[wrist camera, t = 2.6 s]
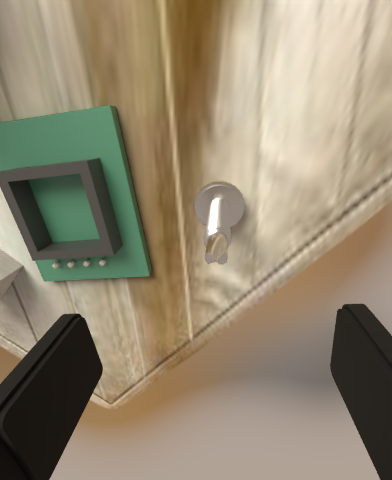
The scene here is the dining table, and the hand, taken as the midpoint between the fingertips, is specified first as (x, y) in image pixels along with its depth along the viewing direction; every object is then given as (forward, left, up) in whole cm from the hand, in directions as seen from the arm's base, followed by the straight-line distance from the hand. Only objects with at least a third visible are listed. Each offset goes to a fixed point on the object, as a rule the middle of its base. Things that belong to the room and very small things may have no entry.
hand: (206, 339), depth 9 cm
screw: (0, 0, -19) cm, 19 cm away
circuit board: (+16, -1, -18) cm, 24 cm away
